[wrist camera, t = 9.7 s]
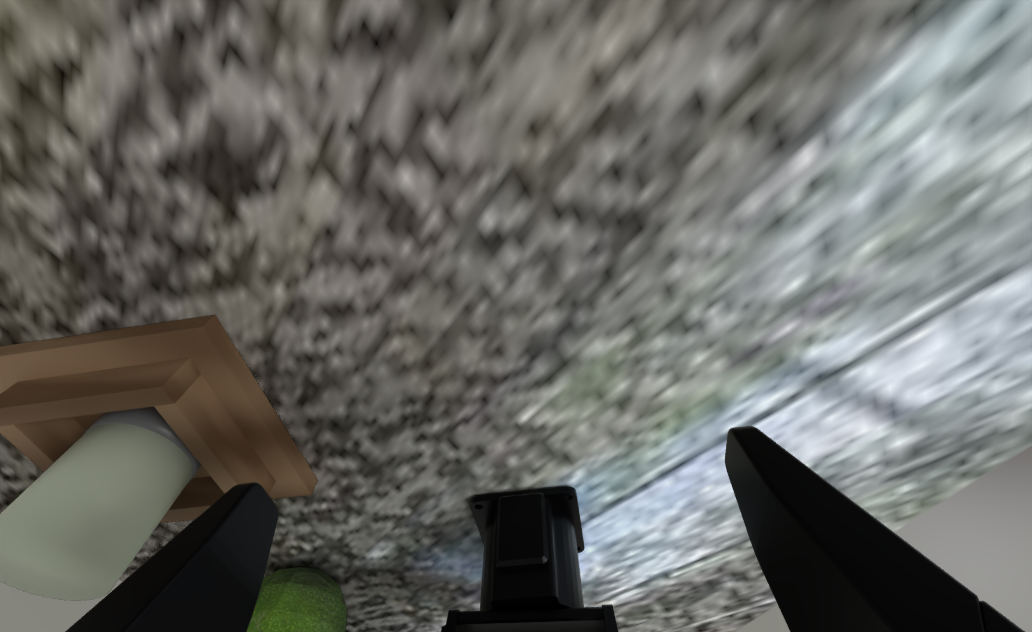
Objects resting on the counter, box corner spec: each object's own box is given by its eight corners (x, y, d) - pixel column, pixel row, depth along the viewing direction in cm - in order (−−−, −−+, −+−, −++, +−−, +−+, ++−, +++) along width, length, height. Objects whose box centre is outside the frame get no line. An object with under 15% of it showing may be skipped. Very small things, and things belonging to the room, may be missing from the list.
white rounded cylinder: (229, 461, 25) (141, 596, 19) (144, 471, 26) (33, 605, 20) (177, 392, 22) (56, 524, 16) (83, 405, 23) (-67, 538, 17)
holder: (317, 480, 28) (297, 526, 25) (136, 500, 29) (99, 546, 26) (215, 314, 21) (173, 354, 19) (-14, 348, 22) (-82, 390, 20)
